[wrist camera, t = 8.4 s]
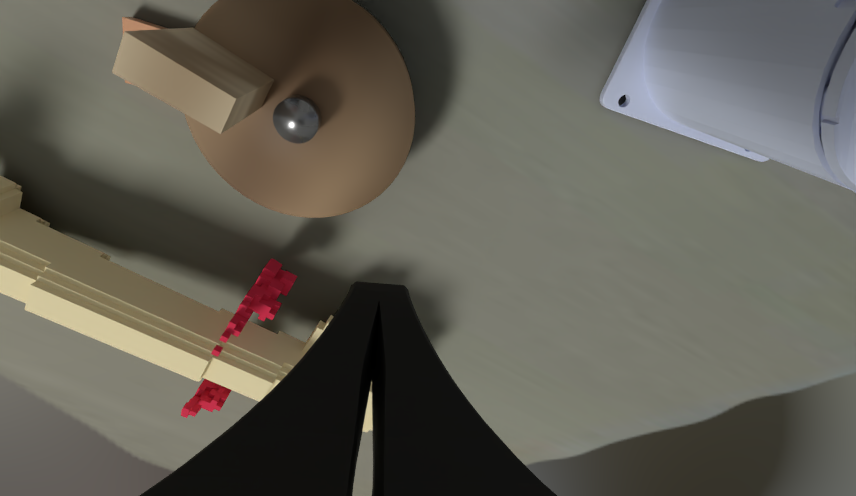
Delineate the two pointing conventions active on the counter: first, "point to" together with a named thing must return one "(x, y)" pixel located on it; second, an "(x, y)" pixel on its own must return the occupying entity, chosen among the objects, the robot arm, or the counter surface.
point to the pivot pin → (297, 119)
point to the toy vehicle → (149, 311)
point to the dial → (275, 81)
